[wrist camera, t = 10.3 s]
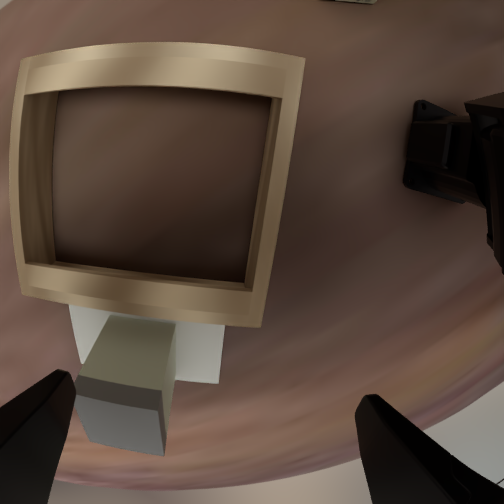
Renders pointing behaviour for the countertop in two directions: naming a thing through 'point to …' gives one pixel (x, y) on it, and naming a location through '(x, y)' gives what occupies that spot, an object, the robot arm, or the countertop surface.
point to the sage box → (128, 385)
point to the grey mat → (187, 342)
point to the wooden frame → (156, 75)
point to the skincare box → (360, 1)
